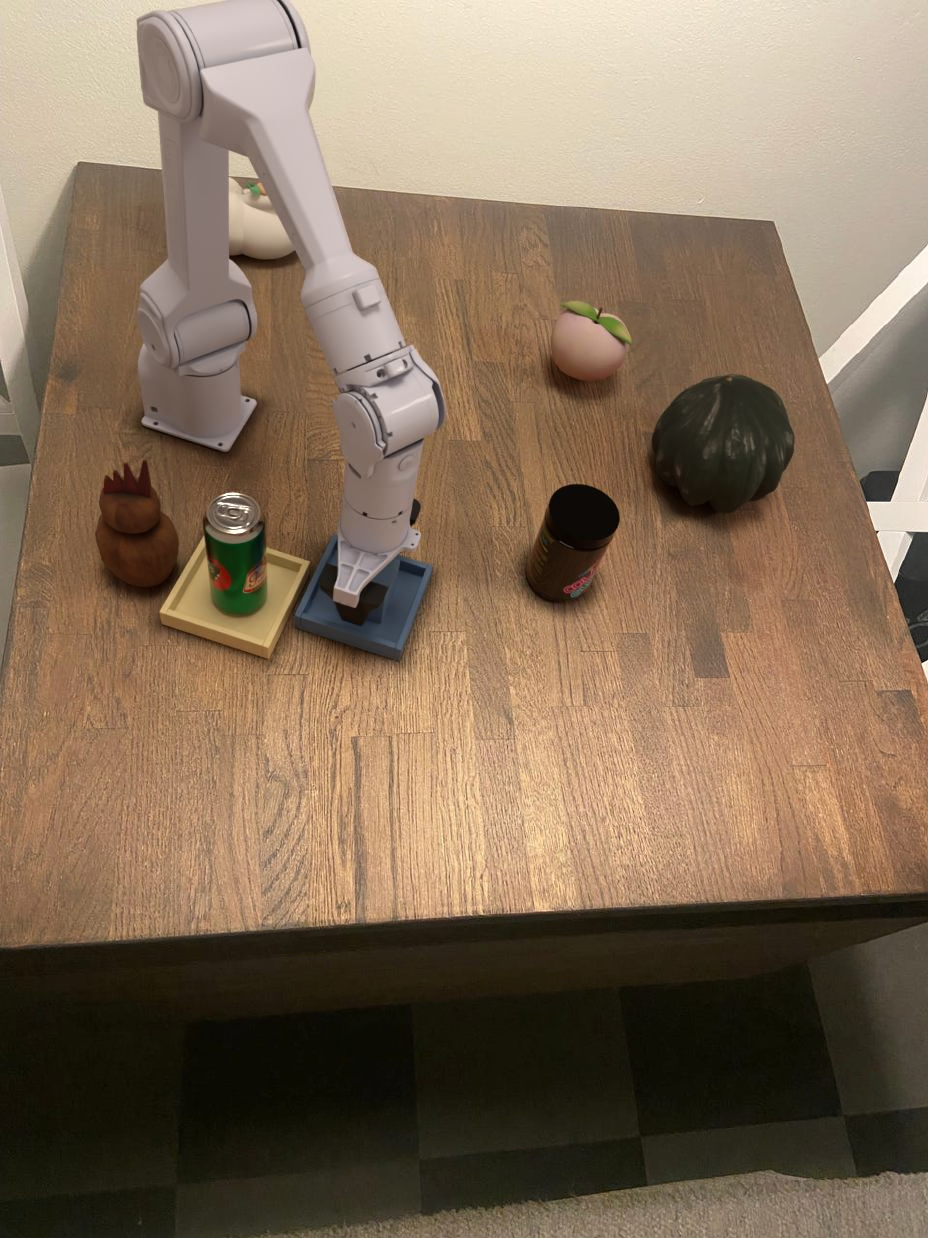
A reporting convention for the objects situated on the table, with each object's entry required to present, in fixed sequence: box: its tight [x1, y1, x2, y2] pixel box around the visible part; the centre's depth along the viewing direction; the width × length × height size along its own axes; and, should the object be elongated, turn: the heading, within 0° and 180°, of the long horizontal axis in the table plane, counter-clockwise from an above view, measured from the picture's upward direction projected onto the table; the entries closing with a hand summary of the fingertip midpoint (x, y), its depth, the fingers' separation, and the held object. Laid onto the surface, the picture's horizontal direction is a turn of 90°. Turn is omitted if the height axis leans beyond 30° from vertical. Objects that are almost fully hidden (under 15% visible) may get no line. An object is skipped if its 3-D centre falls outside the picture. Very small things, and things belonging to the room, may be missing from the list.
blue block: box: [335, 558, 400, 624], centre depth 85 cm, size 4×4×4 cm
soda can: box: [202, 492, 268, 615], centre depth 80 cm, size 5×5×12 cm
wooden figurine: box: [94, 459, 180, 588], centre depth 79 cm, size 7×6×15 cm
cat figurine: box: [229, 176, 296, 260], centre depth 109 cm, size 10×8×15 cm
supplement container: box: [525, 483, 621, 603], centre depth 88 cm, size 7×7×10 cm
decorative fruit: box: [550, 300, 633, 383], centre depth 105 cm, size 9×8×10 cm
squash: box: [651, 373, 796, 514], centre depth 99 cm, size 14×15×15 cm
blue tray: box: [293, 533, 434, 662], centre depth 86 cm, size 10×10×2 cm
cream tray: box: [158, 535, 311, 660], centre depth 84 cm, size 10×10×2 cm
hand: (366, 588), depth 85 cm, fingers open, 7 cm apart
